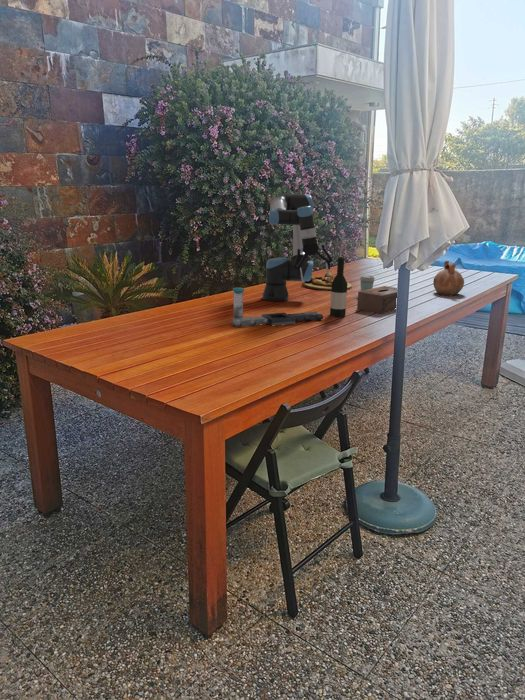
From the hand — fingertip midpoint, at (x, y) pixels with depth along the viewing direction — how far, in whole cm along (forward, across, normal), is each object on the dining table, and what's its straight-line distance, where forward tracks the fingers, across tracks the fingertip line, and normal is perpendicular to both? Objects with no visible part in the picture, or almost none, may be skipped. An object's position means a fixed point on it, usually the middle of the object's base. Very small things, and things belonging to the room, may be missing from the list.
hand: (315, 278), depth 292 cm
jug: (+32, +83, +54) cm, 104 cm away
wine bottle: (+20, +7, -10) cm, 23 cm away
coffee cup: (+22, +31, +40) cm, 56 cm away
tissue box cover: (+24, +33, +9) cm, 42 cm away
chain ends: (+14, -23, -27) cm, 38 cm away
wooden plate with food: (+17, +12, +71) cm, 74 cm away
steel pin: (+10, -42, -22) cm, 49 cm away
